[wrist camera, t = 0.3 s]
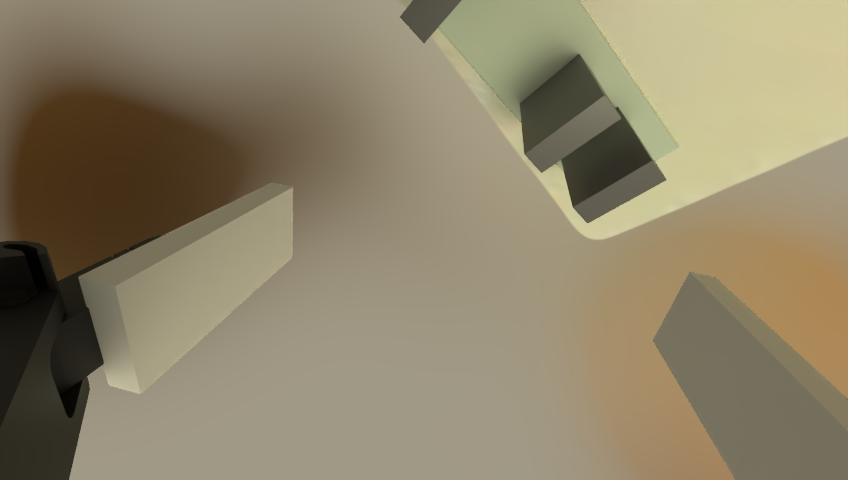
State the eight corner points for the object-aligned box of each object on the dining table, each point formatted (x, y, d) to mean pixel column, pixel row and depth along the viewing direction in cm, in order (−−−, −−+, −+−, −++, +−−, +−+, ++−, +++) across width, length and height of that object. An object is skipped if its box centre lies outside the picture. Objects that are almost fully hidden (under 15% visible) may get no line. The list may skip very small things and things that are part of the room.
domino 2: (579, 53, 31) (604, 95, 23) (592, 72, 31) (621, 118, 24) (519, 103, 34) (524, 154, 26) (532, 119, 35) (541, 172, 27)
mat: (422, -229, 23) (421, -230, 22) (678, 145, 34) (679, 147, 34) (340, -86, 28) (339, -86, 27) (588, 198, 39) (588, 200, 39)
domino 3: (617, 106, 33) (652, 160, 25) (629, 122, 34) (666, 179, 26) (558, 148, 36) (573, 207, 29) (570, 162, 37) (587, 223, 29)
